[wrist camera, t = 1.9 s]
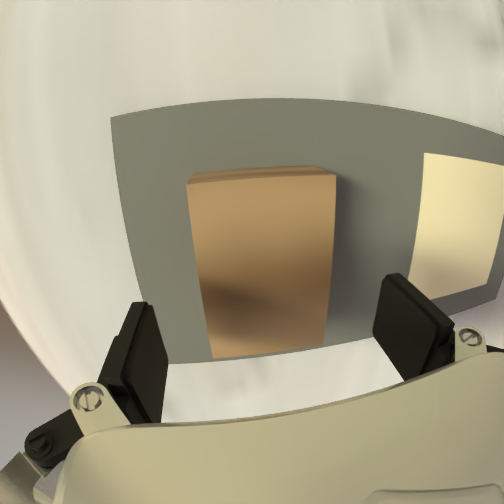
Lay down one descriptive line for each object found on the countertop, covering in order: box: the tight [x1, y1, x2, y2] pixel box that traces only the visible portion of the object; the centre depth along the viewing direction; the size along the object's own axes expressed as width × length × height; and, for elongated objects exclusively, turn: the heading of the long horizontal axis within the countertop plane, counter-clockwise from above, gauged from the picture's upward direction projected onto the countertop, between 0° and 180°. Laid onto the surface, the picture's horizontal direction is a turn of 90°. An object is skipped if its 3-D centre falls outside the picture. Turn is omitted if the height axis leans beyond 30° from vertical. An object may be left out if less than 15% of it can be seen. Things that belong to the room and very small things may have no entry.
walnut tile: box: [186, 165, 336, 359], centre depth 14 cm, size 9×6×3 cm, turn 3°
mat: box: [110, 98, 504, 364], centre depth 16 cm, size 16×32×1 cm, turn 93°
